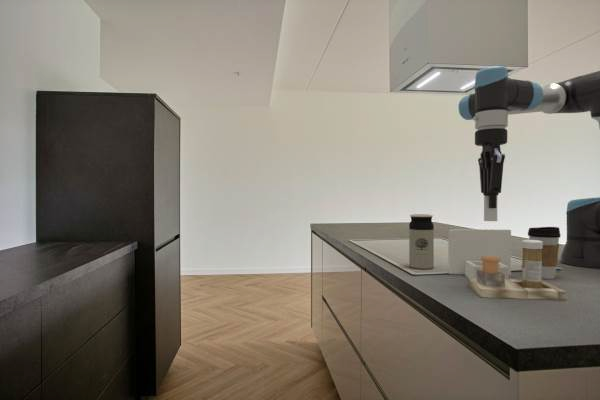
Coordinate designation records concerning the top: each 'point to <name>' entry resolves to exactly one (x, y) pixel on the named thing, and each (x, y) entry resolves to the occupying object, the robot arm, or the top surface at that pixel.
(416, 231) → the travel mug
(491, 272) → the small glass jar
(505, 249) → the tall white box
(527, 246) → the sprinkles bottle
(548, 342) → the top surface
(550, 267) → the coffee cup
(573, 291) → the top surface
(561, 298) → the socket block
